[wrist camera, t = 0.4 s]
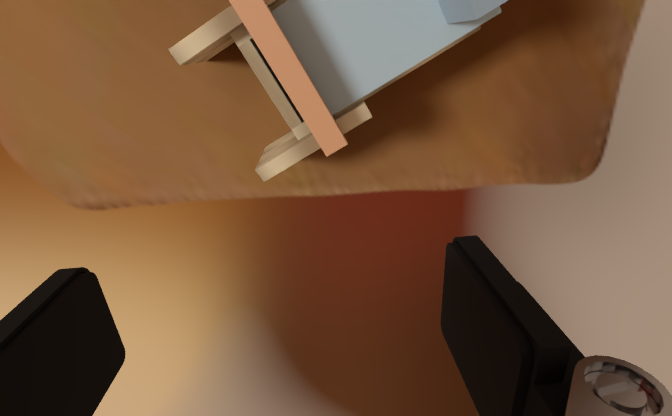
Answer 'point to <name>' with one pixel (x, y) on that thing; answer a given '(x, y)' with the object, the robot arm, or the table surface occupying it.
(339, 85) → the lid
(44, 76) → the table surface
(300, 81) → the rectangular bar
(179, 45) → the toolbox
